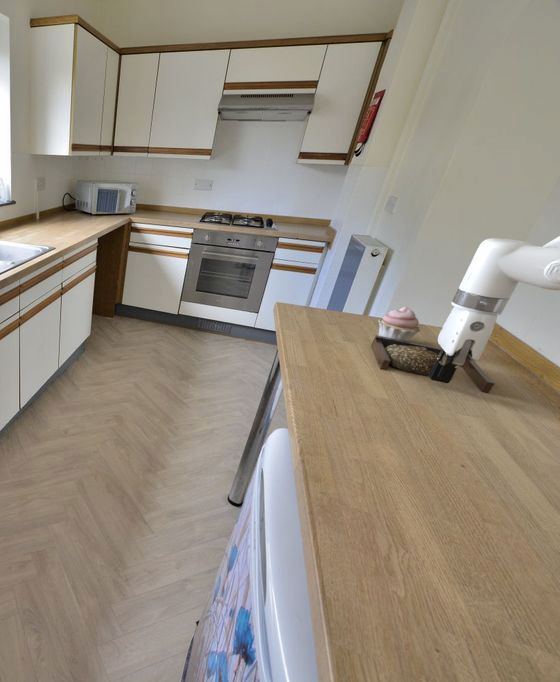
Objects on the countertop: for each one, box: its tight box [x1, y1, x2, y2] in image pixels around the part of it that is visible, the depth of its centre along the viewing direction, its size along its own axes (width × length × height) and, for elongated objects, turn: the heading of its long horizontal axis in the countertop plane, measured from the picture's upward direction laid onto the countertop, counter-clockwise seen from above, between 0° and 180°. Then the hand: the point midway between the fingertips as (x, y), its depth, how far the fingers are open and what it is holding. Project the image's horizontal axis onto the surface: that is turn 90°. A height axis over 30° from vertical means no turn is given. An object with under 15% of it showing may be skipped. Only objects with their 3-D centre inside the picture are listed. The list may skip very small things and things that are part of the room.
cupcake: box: [377, 306, 421, 342], centre depth 111 cm, size 9×9×10 cm
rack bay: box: [371, 334, 495, 394], centre depth 98 cm, size 19×16×3 cm
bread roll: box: [384, 344, 440, 376], centre depth 99 cm, size 13×12×5 cm
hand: (438, 380), depth 90 cm, fingers closed
